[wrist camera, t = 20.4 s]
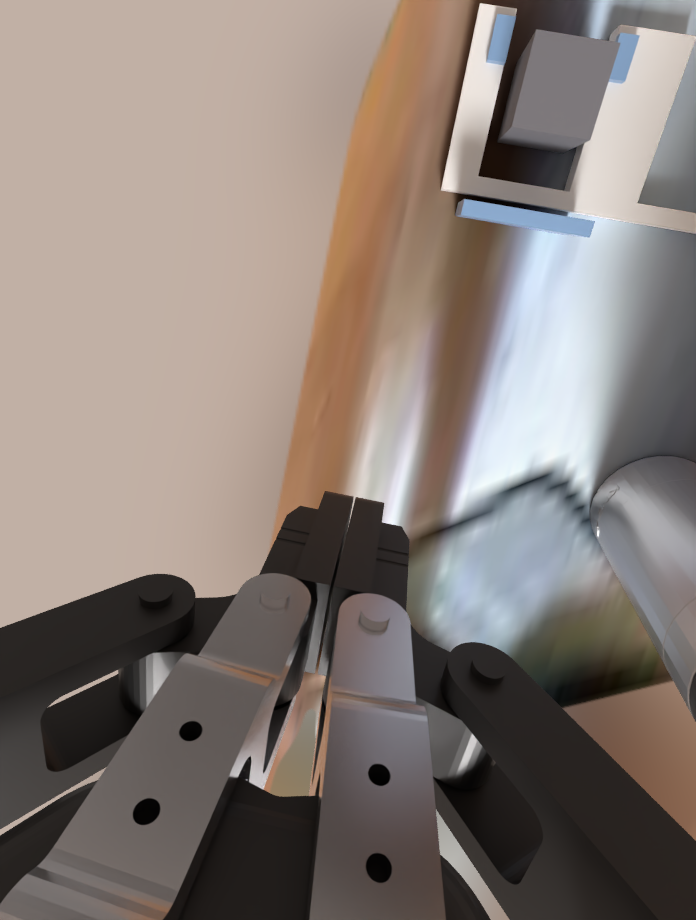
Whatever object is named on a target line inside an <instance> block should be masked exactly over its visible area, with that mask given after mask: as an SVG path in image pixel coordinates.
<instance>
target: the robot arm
mask: <svg viewBox="0 0 696 920" xmlns="http://www.w3.org/2000/svg"><path fill="white" fill-rule="evenodd" d="M352 503H353V497H352V496H347V495H343V494H338V493H333V492H328V491H325V493H324V495H323V498H322V501H321V503H320V506H319V509H313V508H308V507H303V506H299V507H298V508H297V509H295V510H294V511H292V512H291V513H289V514H288V515H287V516H286V518H285V521H284V523H283V525H282V527H281V530H280V531H279V533H278V536H277V538H276V540H275V542H274V544H273V546H272V548H271V551H270V553H269V555H268V557H267V559H266V561H265V563H264V566H263V568H262V570H261V572H260V574H259V575H258V576H255V577H253V578H251V579H249V580H248V581H246V582H245V583H244V584H243V586H242V587H241V588H240V590H239V592H238V593H237V594H235V595H232V596H226V597H218V598H195V592H194V589H193V587H192V586H191V585H190V584H189V583H188V582H187V581H185V580H184V579H182V578H180V577H177V576H173V575H168V574H152V575H146V576H143V577H139V578H136V579H134V580H131V581H128V582H126V583H123V584H120V585H117V586H115V587H112V588H109V589H106V590H104V591H101V592H98V593H95V594H93V595H90V596H87V597H84V598H81V599H79V600H76V601H73V602H70V603H68V604H65V605H62V606H59V607H57V608H54V609H51V610H48V611H46V612H43V613H40V614H37V615H35V616H32V617H29V618H26V619H24V620H21V621H18V622H15V623H13V624H10V625H7V626H5V627H2V628H0V829H1V828H3V827H5V826H7V825H8V824H10V823H11V822H13V821H15V820H17V819H19V818H20V817H22V816H23V815H25V814H27V813H28V812H30V811H32V810H34V809H35V808H37V807H39V806H41V805H42V804H44V803H46V802H47V801H49V800H51V799H52V798H54V797H56V796H57V795H59V794H61V793H63V792H64V791H66V790H68V789H70V788H71V787H73V786H74V785H76V784H78V783H80V782H81V781H83V780H85V779H87V778H88V777H90V776H92V775H93V774H95V773H97V772H98V771H100V770H102V769H104V768H105V767H107V768H106V769H105V771H104V772H103V774H102V775H101V777H100V778H99V780H97V781H95V782H92V783H90V784H87V785H85V786H83V787H80V788H78V789H76V790H74V791H72V792H70V793H68V794H66V795H65V796H63V797H61V798H60V799H58V800H56V801H55V802H53V803H52V804H50V805H48V806H47V807H45V808H44V809H42V810H41V811H39V812H37V813H35V814H34V815H33V816H31V817H29V818H28V819H26V820H24V821H23V822H21V823H20V824H18V825H17V826H15V827H13V828H12V829H10V830H9V831H7V832H5V833H4V834H2V835H1V836H0V920H490V918H489V916H488V914H487V913H486V911H485V910H484V908H483V906H482V905H481V903H480V901H479V900H478V899H477V897H476V895H475V894H474V892H473V891H472V890H471V888H470V887H469V886H468V884H467V883H466V882H465V880H464V879H463V878H462V876H461V875H460V874H459V873H458V872H457V871H456V870H455V869H454V868H453V867H452V865H451V864H450V863H449V862H448V861H447V860H446V859H444V858H443V857H442V856H441V855H440V850H439V841H438V840H439V839H438V829H437V817H436V809H437V811H438V812H439V814H440V815H441V817H442V818H443V820H444V822H445V823H446V825H447V826H448V828H449V829H450V831H451V832H452V833H453V835H454V837H455V838H456V839H457V841H458V843H459V844H460V846H461V847H462V849H463V850H464V852H465V853H466V855H467V856H468V858H469V859H470V861H471V862H472V863H473V865H474V867H475V868H476V870H477V871H478V873H479V874H480V876H481V877H482V879H483V880H484V882H485V883H486V885H487V886H488V888H489V889H490V891H491V892H492V894H493V895H494V897H495V898H496V900H497V901H498V903H499V904H500V906H501V907H502V909H503V910H504V912H505V913H506V915H507V916H508V918H509V919H510V920H696V841H695V840H694V839H693V838H692V837H691V836H690V835H689V834H688V833H687V832H686V831H685V830H684V829H683V828H682V827H681V826H680V825H679V824H678V823H677V822H676V821H675V820H674V819H673V818H672V817H671V816H670V815H669V814H668V813H667V812H666V811H665V810H664V809H663V808H662V807H661V806H660V805H659V804H658V803H657V802H656V801H655V800H654V799H653V798H652V797H651V796H650V795H649V794H648V793H647V792H646V791H645V790H644V789H643V788H642V787H641V786H640V785H639V784H638V783H637V782H636V781H635V780H634V779H633V778H632V777H631V776H630V775H629V774H628V773H627V772H626V771H625V770H624V769H623V768H622V767H621V766H620V765H619V764H618V763H617V762H616V761H614V759H612V757H611V756H610V755H609V754H608V753H607V752H606V751H605V750H603V748H602V747H601V746H599V744H598V743H597V742H595V741H594V740H593V739H592V738H591V737H590V736H589V735H588V734H587V733H586V732H585V731H584V730H583V729H582V728H581V727H580V726H579V725H578V724H577V723H576V722H575V721H574V720H573V719H572V718H571V717H570V716H569V715H568V714H567V713H566V712H565V711H564V710H563V709H562V708H561V707H560V706H559V705H558V704H557V703H556V702H555V701H554V700H553V699H552V698H551V697H550V696H549V695H548V694H547V693H546V692H545V691H544V690H543V689H542V688H541V687H540V686H539V685H538V684H537V683H536V682H535V681H534V680H533V679H532V678H531V677H530V676H529V675H528V674H527V673H526V672H525V671H524V670H523V669H522V668H521V667H520V666H519V665H518V664H517V663H516V662H515V661H514V660H513V659H512V658H510V657H509V656H508V655H507V654H505V653H504V652H502V651H501V650H499V649H497V648H495V647H492V646H490V645H486V644H483V643H475V642H470V643H463V644H460V645H458V646H456V647H455V648H454V649H452V651H451V652H449V651H447V650H445V649H442V648H440V647H438V646H436V645H434V644H432V643H431V642H429V641H427V640H426V639H424V638H423V637H422V636H421V635H419V634H418V633H417V632H416V631H415V629H414V628H413V627H412V625H411V624H410V619H409V617H408V614H407V613H406V601H407V579H408V558H409V556H408V555H409V539H408V537H407V535H406V534H405V532H404V530H403V528H402V527H401V526H396V525H391V524H386V523H382V516H383V509H384V503H382V502H377V501H372V500H367V499H363V498H358V497H356V499H355V503H354V507H353V511H352V515H351V519H350V514H351V509H352ZM349 520H350V523H349ZM590 522H591V526H592V530H593V532H594V534H595V536H596V538H597V540H598V542H599V543H600V545H601V547H602V549H603V551H604V553H605V555H606V557H607V559H608V560H609V563H610V565H611V566H612V568H613V570H614V572H615V574H616V576H617V578H618V579H619V581H620V583H621V585H622V587H623V589H624V591H625V592H626V594H627V596H628V598H629V600H630V602H631V604H632V605H633V607H634V609H635V611H636V613H637V615H638V617H639V618H640V620H641V622H642V624H643V626H644V628H645V629H646V631H647V633H648V635H649V637H650V639H651V641H652V642H653V644H654V646H655V648H656V650H657V652H658V654H659V655H660V657H661V659H662V661H663V663H664V665H665V667H666V668H667V670H668V672H669V674H670V675H671V677H672V679H673V681H674V683H675V685H676V687H677V688H678V690H679V692H680V694H681V696H682V697H683V699H684V701H685V703H686V705H687V707H688V709H689V710H690V712H691V714H692V716H693V718H694V719H695V721H696V463H694V462H692V461H690V460H687V459H684V458H679V457H674V456H655V457H649V458H644V459H641V460H638V461H635V462H632V463H630V464H628V465H626V466H624V467H622V468H620V469H619V470H617V471H616V472H615V473H613V474H612V475H611V476H610V477H608V478H607V479H606V481H605V482H604V483H603V484H602V485H601V486H600V487H599V489H598V491H597V493H596V495H595V496H594V498H593V501H592V505H591V508H590ZM348 525H349V527H348ZM347 530H348V531H347ZM327 620H328V621H327ZM326 625H327V627H326ZM325 629H326V632H325ZM324 633H325V638H324V643H323V648H322V654H321V659H320V665H319V670H318V674H319V675H324V676H326V679H325V685H324V690H323V695H322V700H321V706H320V711H319V718H318V726H317V734H316V742H315V750H314V758H313V767H312V775H311V783H310V791H309V796H294V797H279V796H275V795H272V794H270V793H268V792H266V791H265V790H263V789H264V786H265V783H266V780H267V777H268V775H269V772H270V769H271V767H272V764H273V761H274V758H275V756H276V753H277V750H278V747H279V745H280V742H281V739H282V736H283V734H284V731H285V728H286V725H287V723H288V720H289V717H290V714H291V712H292V709H293V706H294V702H295V697H296V694H297V692H298V691H299V688H300V686H301V682H302V678H303V674H304V671H305V672H309V673H314V674H315V670H316V666H317V662H318V658H319V653H320V649H321V645H322V641H323V637H324ZM116 670H118V672H119V674H117V675H115V676H113V677H111V678H109V679H107V680H105V681H103V682H101V683H99V684H97V685H94V686H92V687H90V688H88V689H86V690H84V691H82V692H80V693H78V694H76V695H74V696H71V697H69V698H67V699H66V700H63V701H61V702H59V703H57V704H55V705H53V706H51V707H48V706H49V705H50V704H51V703H53V702H54V701H55V700H56V699H58V698H59V697H61V696H63V695H65V694H67V693H69V692H72V691H73V690H76V689H78V688H80V687H82V686H84V685H86V684H88V683H91V682H93V681H95V680H97V679H99V678H101V677H103V676H105V675H108V674H110V673H112V672H114V671H116ZM47 707H48V708H47Z"/></svg>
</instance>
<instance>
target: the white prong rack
mask: <svg viewBox="0 0 696 920" xmlns="http://www.w3.org/2000/svg"><path fill="white" fill-rule="evenodd" d="M516 12H517V9H515V8H509V7H502V6H495V5H489V4H482V3H480V6H479V10H478V13H477V18H476V23H475V28H474V33H473V37H472V42H471V47H470V52H469V57H468V61H467V66H466V71H465V76H464V81H463V85H462V90H461V95H460V100H459V105H458V109H457V114H456V119H455V124H454V129H453V133H452V138H451V143H450V148H449V153H448V157H447V162H446V167H445V172H444V177H443V181H442V186H441V190H442V191H447V192H453V193H459V194H465V195H471V196H477V197H482V198H488V199H494V200H500V201H506V202H512V203H517V204H523V205H529V206H535V207H541V208H547V209H552V210H558V211H564V212H570V213H576V214H582V215H587V216H593V217H599V218H605V219H611V220H617V221H622V222H628V223H634V224H640V225H646V226H652V227H657V228H663V229H669V230H675V231H681V232H687V233H692V234H696V213H693V212H687V211H681V210H675V209H669V208H663V207H657V206H651V205H645V204H639V203H638V200H639V197H640V194H641V191H642V189H643V186H644V183H645V180H646V177H647V175H648V172H649V169H650V166H651V163H652V161H653V158H654V155H655V152H656V149H657V147H658V144H659V141H660V138H661V135H662V133H663V130H664V127H665V124H666V121H667V118H668V116H669V113H670V110H671V107H672V104H673V102H674V99H675V96H676V93H677V90H678V88H679V85H680V82H681V79H682V76H683V74H684V71H685V68H686V65H687V62H688V60H689V57H690V54H691V51H692V48H693V46H694V43H695V40H696V36H693V35H686V34H680V33H673V32H667V31H660V30H653V29H647V28H640V27H634V26H627V25H621V24H620V25H619V26H618V27H617V28H616V29H615V30H614V31H613V32H612V33H611V35H610V38H609V41H613V42H619V43H620V47H619V50H618V53H617V56H616V59H615V63H614V66H613V69H612V72H611V75H610V79H609V82H608V85H607V88H606V91H605V95H604V98H603V101H602V104H601V107H600V111H599V114H598V117H597V120H596V123H595V127H594V130H593V133H592V136H591V139H590V140H589V141H587V142H585V143H583V144H581V145H579V146H577V149H576V152H575V155H574V159H573V162H572V165H571V169H570V172H569V175H568V179H567V182H566V185H565V189H564V191H563V190H557V189H551V188H545V187H539V186H533V185H527V184H521V183H515V182H510V181H504V180H498V179H492V178H486V177H480V176H478V174H479V170H480V166H481V162H482V157H483V153H484V149H485V144H486V140H487V136H488V132H489V127H490V123H491V119H492V114H493V110H494V106H495V102H496V97H497V93H498V89H499V84H500V80H501V76H502V72H503V67H504V64H505V62H506V58H507V54H508V49H509V45H510V41H511V37H512V32H513V28H514V24H515V20H516ZM455 216H459V217H465V218H470V219H476V220H482V221H488V222H493V223H499V224H505V225H511V226H516V227H522V228H528V229H534V230H539V231H545V232H551V233H557V234H562V235H571V236H581V237H590V235H591V232H592V229H593V226H594V223H595V221H590V220H584V219H578V218H573V217H567V216H561V215H555V214H549V213H543V212H538V211H532V210H526V209H520V208H514V207H509V206H503V205H497V204H491V203H485V202H479V201H474V200H468V199H463V200H462V201H460V202H458V205H457V209H456V214H455Z"/></svg>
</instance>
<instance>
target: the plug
mask: <svg viewBox="0 0 696 920" xmlns="http://www.w3.org/2000/svg"><path fill="white" fill-rule="evenodd" d="M619 47H620V43H619V42H613V41H606V40H600V39H594V38H588V37H581V36H575V35H569V34H563V33H557V32H550V31H544V30H538V29H536V31H535V32H534V34H533V36H532V38H531V39H530V41H529V43H528V44H527V46H526V48H525V49H524V51H523V53H522V55H521V56H520V58H519V60H518V61H517V63H516V67H515V71H514V75H513V79H512V83H511V88H510V92H509V96H508V100H507V104H506V108H505V112H504V116H503V120H502V124H501V128H500V132H499V136H498V140H497V142H499V143H504V144H510V145H516V146H522V147H528V148H534V149H539V150H545V151H551V152H557V153H564V152H566V151H569V150H571V149H573V148H575V147H577V146H579V145H581V144H583V143H585V142H587V141H589V140H590V139H591V136H592V133H593V130H594V127H595V123H596V120H597V117H598V114H599V111H600V107H601V104H602V101H603V98H604V95H605V91H606V88H607V85H608V82H609V79H610V75H611V72H612V69H613V66H614V63H615V59H616V56H617V53H618V50H619Z"/></svg>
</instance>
